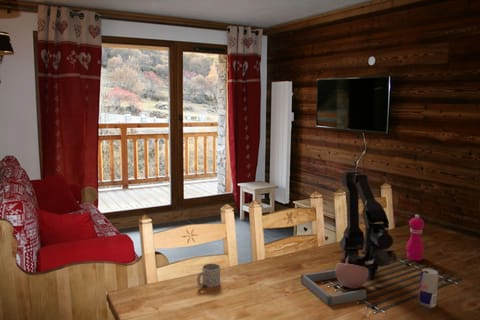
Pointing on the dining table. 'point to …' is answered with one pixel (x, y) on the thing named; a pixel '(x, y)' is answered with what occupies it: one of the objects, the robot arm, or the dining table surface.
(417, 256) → the pepper mill
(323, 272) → the grey frame
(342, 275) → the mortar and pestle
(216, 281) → the mug
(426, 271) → the energy drink
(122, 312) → the dining table surface
